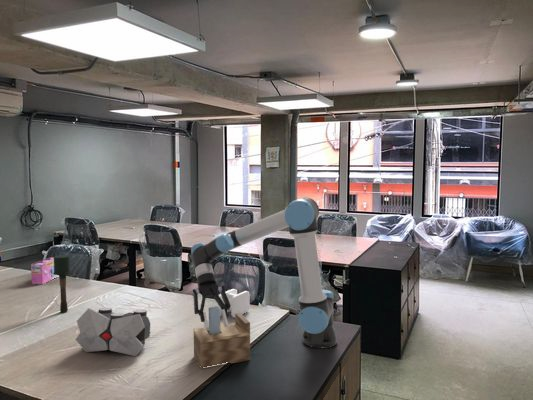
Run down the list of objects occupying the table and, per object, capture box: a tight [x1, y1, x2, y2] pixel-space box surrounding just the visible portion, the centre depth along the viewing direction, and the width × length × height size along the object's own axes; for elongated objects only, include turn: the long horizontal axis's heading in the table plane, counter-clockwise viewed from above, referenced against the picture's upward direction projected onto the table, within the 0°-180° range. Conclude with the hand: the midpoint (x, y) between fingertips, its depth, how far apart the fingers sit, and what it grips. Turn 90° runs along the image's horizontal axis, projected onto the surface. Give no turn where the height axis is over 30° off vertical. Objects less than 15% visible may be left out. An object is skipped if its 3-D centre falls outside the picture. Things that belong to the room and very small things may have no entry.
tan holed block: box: [193, 313, 251, 343], centre depth 170 cm, size 20×12×5 cm, turn 113°
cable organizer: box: [217, 288, 251, 318], centre depth 221 cm, size 15×11×12 cm
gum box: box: [30, 256, 59, 285], centre depth 287 cm, size 24×8×14 cm, turn 173°
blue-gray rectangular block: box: [208, 306, 221, 335], centre depth 168 cm, size 4×4×16 cm
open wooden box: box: [193, 333, 251, 369], centre depth 170 cm, size 20×12×10 cm, turn 113°
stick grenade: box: [53, 254, 72, 314], centre depth 223 cm, size 8×9×30 cm
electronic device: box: [75, 307, 151, 357], centre depth 179 cm, size 18×21×30 cm
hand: (216, 327), depth 165 cm, fingers open, 7 cm apart
